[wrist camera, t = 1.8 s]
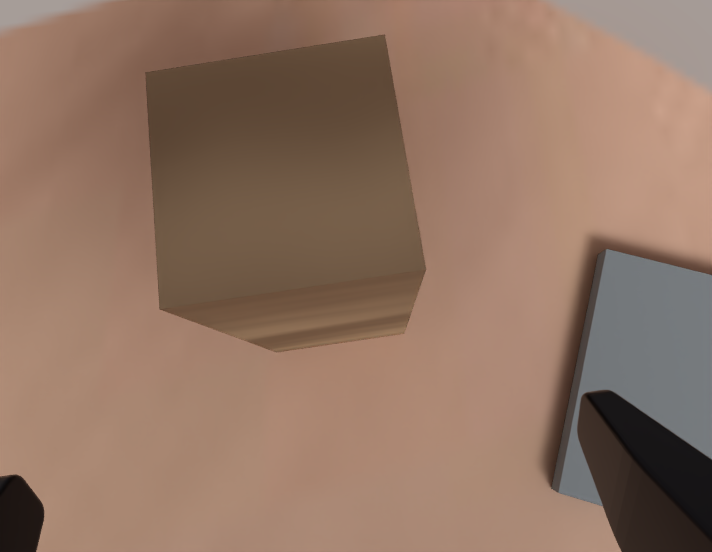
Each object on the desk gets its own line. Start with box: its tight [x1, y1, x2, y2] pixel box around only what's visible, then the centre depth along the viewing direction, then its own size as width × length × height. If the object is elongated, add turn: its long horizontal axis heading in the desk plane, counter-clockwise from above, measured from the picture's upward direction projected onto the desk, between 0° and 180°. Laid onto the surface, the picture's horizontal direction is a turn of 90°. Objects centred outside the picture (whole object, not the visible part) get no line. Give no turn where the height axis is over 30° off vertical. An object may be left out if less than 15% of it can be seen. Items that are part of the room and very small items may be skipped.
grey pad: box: [551, 249, 712, 506], centre depth 19 cm, size 9×9×1 cm
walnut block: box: [146, 35, 426, 352], centre depth 16 cm, size 5×5×11 cm
